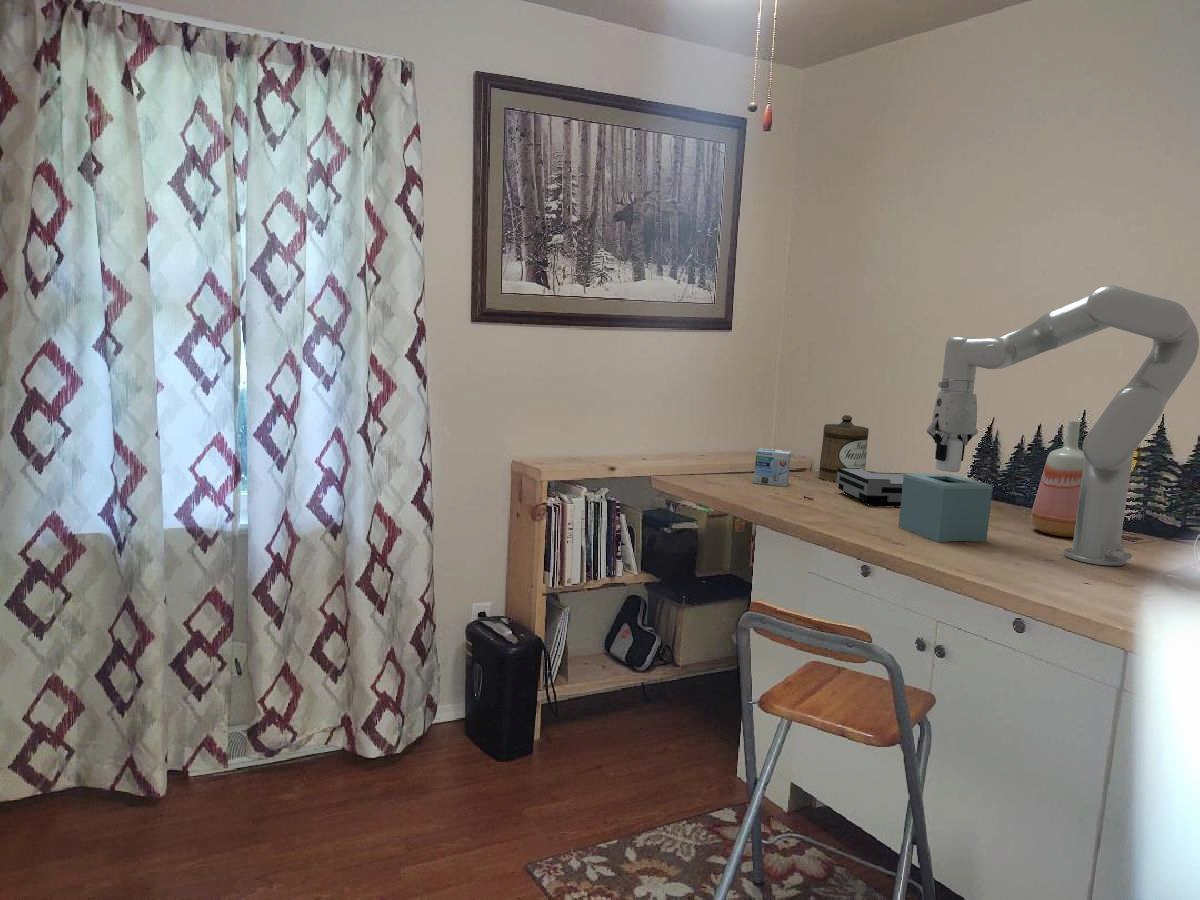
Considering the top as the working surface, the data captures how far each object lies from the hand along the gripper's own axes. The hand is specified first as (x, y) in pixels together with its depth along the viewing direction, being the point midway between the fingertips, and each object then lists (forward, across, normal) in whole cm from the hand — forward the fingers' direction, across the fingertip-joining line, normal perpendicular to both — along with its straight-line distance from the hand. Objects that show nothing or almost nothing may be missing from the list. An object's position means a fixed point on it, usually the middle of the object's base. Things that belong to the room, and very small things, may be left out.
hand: (949, 459), depth 223 cm
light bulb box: (+20, -12, +69) cm, 73 cm away
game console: (+20, +17, +41) cm, 49 cm away
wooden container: (+20, +18, +76) cm, 80 cm away
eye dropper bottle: (+3, 0, 0) cm, 3 cm away
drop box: (+19, 0, 0) cm, 19 cm away
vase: (+19, +35, -2) cm, 40 cm away
